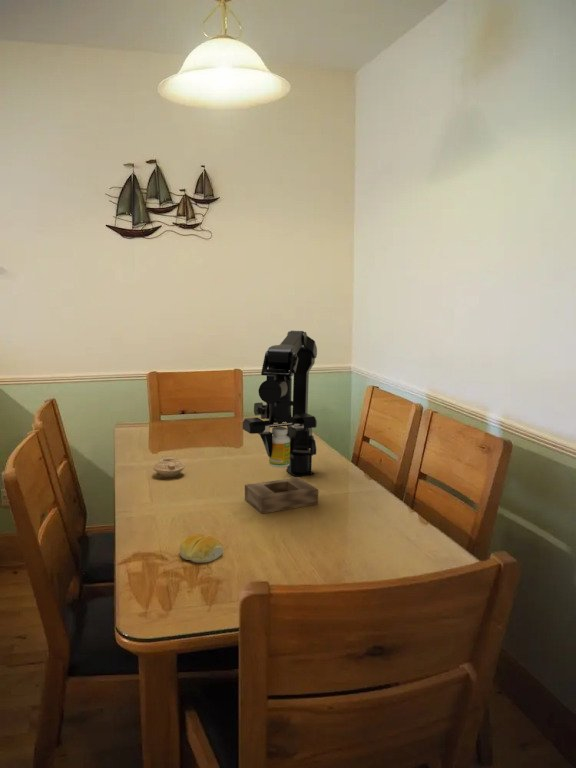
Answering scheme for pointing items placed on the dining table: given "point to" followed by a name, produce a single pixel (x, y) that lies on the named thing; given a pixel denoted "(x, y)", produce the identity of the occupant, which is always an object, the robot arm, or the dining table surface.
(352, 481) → the dining table surface
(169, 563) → the dining table surface
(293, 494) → the walnut holder
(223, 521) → the dining table surface
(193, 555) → the bread roll
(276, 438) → the supplement bottle
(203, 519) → the dining table surface
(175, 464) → the pottery oil lamp
